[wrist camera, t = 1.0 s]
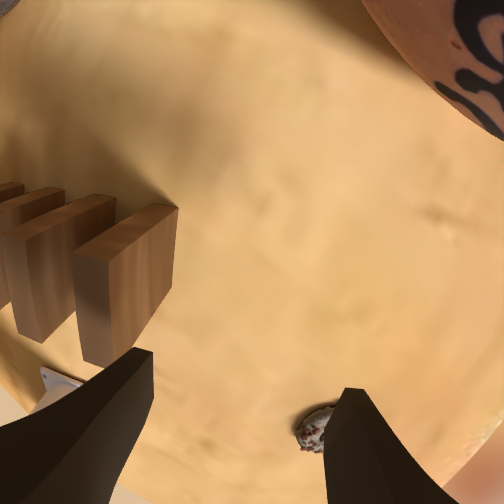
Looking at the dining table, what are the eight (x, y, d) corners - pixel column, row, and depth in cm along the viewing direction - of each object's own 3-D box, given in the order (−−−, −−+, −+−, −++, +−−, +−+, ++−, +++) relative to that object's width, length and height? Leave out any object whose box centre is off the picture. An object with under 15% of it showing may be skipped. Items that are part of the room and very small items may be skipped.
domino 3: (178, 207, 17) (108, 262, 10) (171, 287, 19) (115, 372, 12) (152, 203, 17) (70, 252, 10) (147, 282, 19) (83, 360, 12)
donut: (394, 418, 23) (399, 436, 21) (322, 456, 25) (324, 473, 23) (342, 373, 21) (346, 393, 19) (262, 419, 23) (261, 439, 22)
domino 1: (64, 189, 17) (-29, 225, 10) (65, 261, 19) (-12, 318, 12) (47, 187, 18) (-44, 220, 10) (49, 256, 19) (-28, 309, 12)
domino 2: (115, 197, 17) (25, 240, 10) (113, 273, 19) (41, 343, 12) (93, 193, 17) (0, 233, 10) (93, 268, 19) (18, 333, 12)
